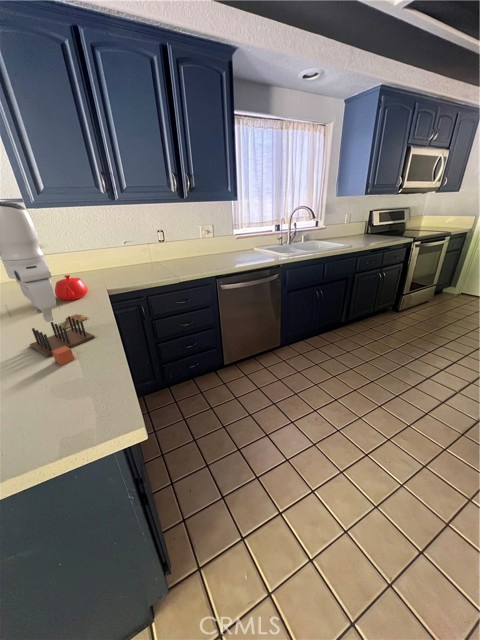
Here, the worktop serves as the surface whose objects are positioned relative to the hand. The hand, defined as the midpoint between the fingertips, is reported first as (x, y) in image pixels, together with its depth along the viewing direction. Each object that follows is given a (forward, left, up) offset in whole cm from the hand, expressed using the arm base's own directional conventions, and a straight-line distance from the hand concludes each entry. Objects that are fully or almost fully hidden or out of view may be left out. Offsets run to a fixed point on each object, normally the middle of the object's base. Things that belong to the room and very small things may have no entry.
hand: (44, 316), depth 75 cm
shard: (+20, +31, -17) cm, 41 cm away
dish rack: (+8, +17, -17) cm, 26 cm away
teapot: (+37, +67, -17) cm, 78 cm away
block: (+2, +3, -17) cm, 18 cm away
